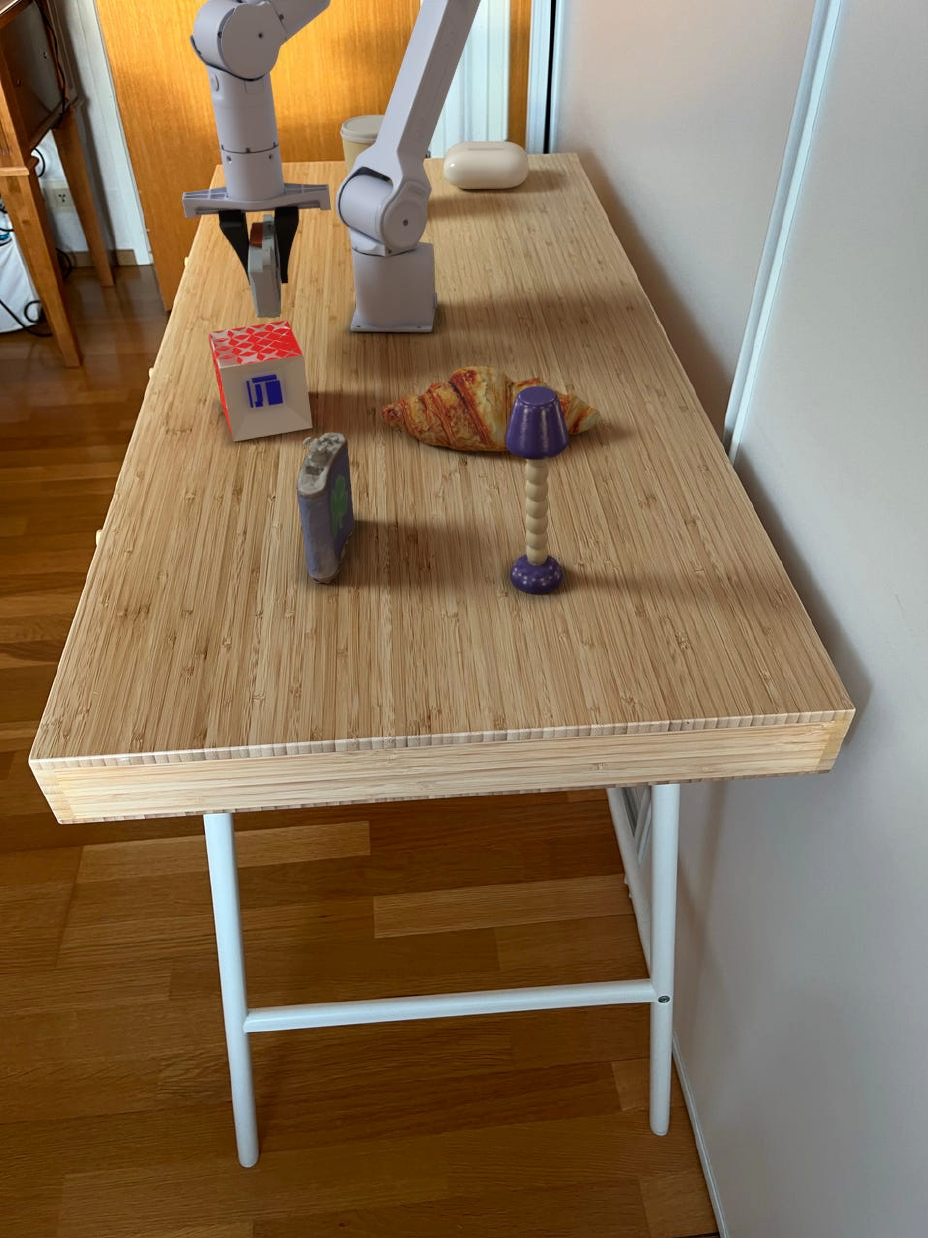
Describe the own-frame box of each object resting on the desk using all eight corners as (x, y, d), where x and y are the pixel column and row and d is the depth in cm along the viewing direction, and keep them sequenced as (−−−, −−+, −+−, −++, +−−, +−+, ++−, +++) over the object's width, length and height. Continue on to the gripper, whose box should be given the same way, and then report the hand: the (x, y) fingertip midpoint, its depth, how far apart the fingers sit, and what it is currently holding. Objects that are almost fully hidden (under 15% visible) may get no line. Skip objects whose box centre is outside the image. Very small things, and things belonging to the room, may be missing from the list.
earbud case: (444, 172, 157) (443, 136, 153) (526, 172, 156) (527, 135, 153) (442, 194, 149) (441, 156, 145) (529, 194, 149) (530, 156, 145)
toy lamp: (518, 601, 78) (523, 416, 67) (493, 568, 82) (495, 386, 71) (571, 585, 80) (585, 401, 69) (545, 553, 83) (554, 372, 72)
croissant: (590, 445, 102) (592, 365, 100) (607, 453, 92) (610, 364, 90) (385, 447, 101) (383, 366, 99) (379, 454, 92) (377, 365, 90)
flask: (334, 585, 80) (319, 474, 73) (299, 583, 81) (281, 471, 73) (359, 519, 87) (348, 411, 80) (327, 517, 87) (313, 409, 80)
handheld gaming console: (283, 332, 101) (276, 255, 96) (254, 333, 101) (245, 255, 96) (283, 276, 112) (277, 203, 107) (257, 276, 112) (249, 204, 107)
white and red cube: (297, 391, 104) (287, 320, 99) (312, 427, 99) (303, 354, 93) (221, 404, 102) (207, 332, 97) (232, 442, 97) (218, 368, 92)
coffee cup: (410, 224, 140) (405, 133, 132) (344, 224, 140) (336, 133, 132) (413, 201, 147) (409, 113, 139) (350, 201, 147) (343, 113, 139)
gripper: (323, 128, 100) (336, 261, 109) (176, 136, 98) (202, 270, 107) (325, 149, 94) (338, 287, 103) (170, 158, 93) (198, 297, 102)
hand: (269, 280), depth 105 cm, fingers closed on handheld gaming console, 3 cm apart
